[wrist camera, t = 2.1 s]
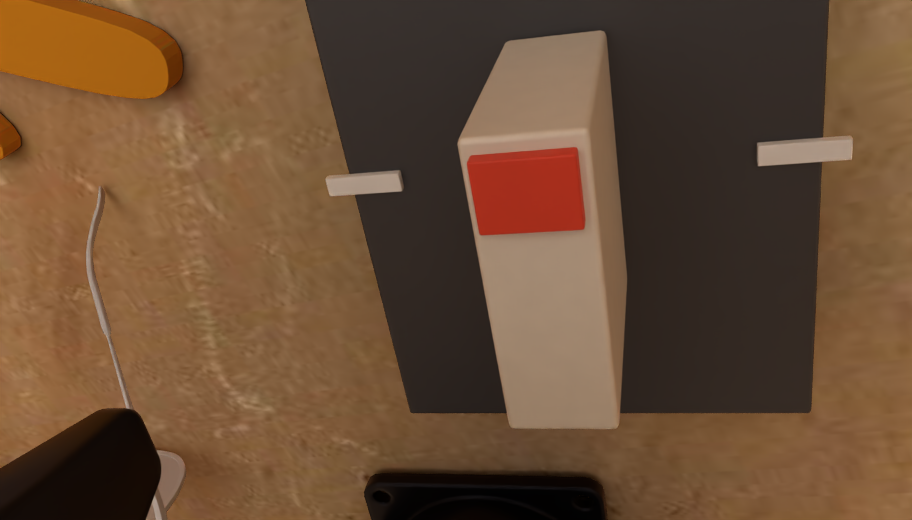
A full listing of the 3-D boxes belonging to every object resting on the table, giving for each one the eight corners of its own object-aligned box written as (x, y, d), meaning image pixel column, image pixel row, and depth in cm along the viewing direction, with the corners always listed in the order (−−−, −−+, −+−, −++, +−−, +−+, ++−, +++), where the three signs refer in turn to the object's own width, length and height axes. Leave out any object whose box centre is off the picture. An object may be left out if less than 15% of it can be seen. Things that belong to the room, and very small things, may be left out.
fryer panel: (423, 332, 21) (390, 419, 18) (308, -163, 15) (238, -141, 13) (810, 322, 19) (836, 420, 16) (834, -262, 13) (877, -259, 11)
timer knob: (627, 279, 15) (618, 444, 12) (539, 283, 16) (506, 443, 12) (606, 27, 13) (587, 137, 10) (504, 39, 14) (450, 148, 10)
